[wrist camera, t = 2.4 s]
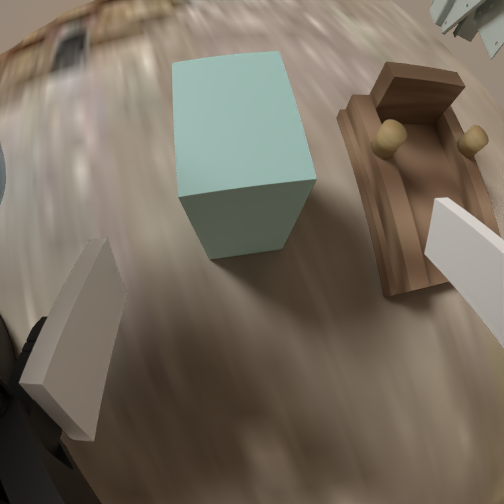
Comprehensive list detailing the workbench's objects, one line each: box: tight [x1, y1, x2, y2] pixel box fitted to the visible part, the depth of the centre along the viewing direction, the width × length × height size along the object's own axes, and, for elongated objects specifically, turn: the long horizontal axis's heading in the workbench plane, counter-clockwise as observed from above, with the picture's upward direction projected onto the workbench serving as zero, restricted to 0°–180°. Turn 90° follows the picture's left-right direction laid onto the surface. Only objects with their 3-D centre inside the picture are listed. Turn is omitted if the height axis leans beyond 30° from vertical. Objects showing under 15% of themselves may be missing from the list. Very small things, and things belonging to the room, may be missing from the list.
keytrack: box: [337, 62, 501, 297], centre depth 20 cm, size 15×11×7 cm
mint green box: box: [172, 51, 317, 260], centre depth 17 cm, size 7×5×11 cm
